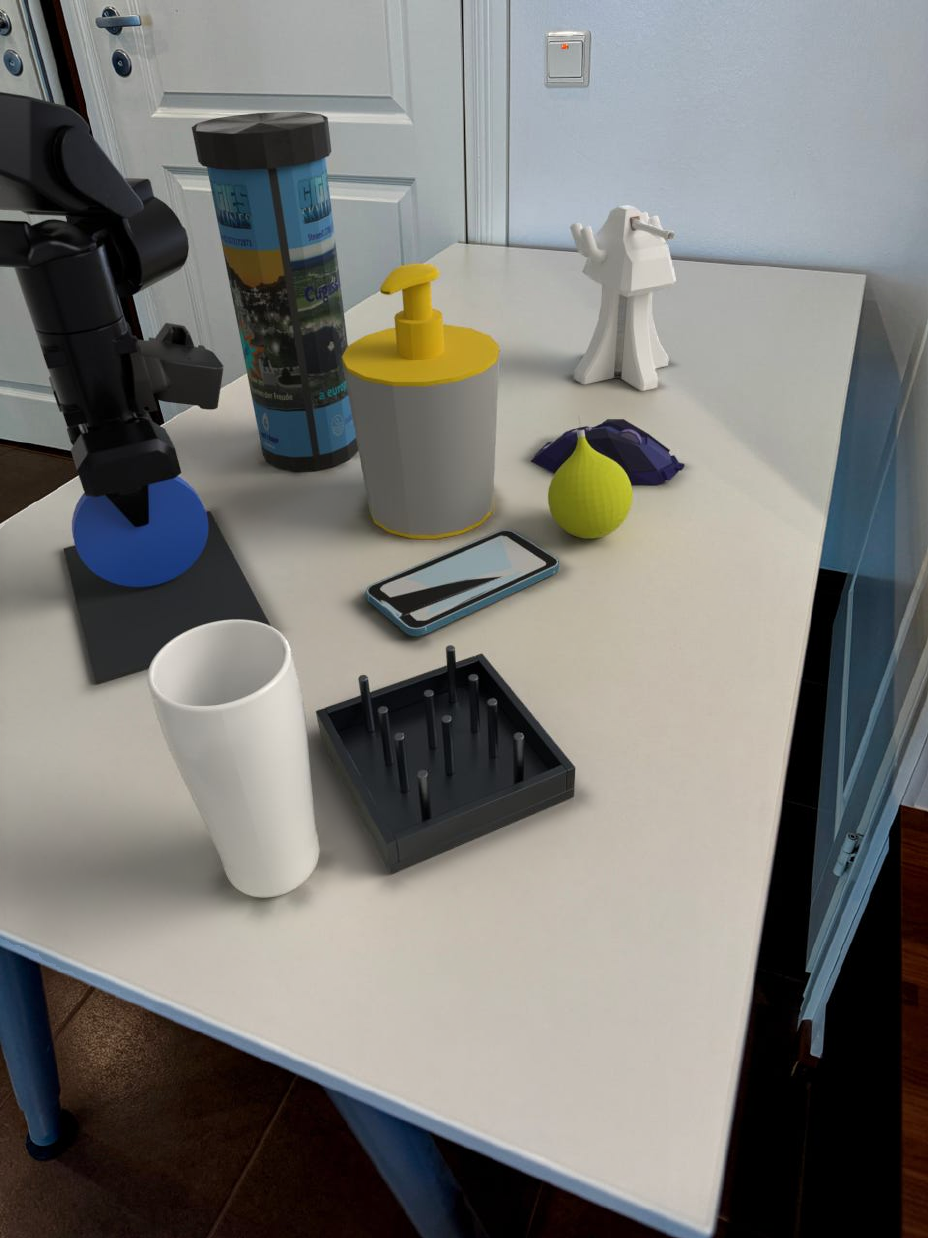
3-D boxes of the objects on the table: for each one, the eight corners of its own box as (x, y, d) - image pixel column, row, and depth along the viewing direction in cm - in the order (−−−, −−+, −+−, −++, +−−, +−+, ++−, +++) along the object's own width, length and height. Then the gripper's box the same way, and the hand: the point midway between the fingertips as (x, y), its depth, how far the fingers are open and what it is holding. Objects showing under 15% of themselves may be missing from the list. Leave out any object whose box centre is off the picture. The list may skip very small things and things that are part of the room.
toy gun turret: (610, 403, 98) (621, 231, 87) (552, 364, 107) (556, 205, 97) (699, 382, 101) (720, 215, 90) (635, 346, 111) (648, 191, 100)
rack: (574, 797, 53) (577, 734, 50) (390, 875, 49) (381, 812, 46) (483, 681, 62) (481, 621, 58) (320, 739, 58) (309, 678, 54)
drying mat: (96, 684, 63) (94, 680, 63) (64, 551, 77) (63, 548, 77) (271, 630, 67) (271, 626, 67) (210, 514, 82) (210, 510, 81)
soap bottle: (331, 513, 81) (296, 276, 68) (425, 459, 89) (410, 238, 76) (438, 560, 74) (421, 307, 61) (530, 497, 82) (532, 261, 69)
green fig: (565, 505, 80) (569, 402, 74) (640, 521, 78) (650, 415, 72) (534, 543, 75) (535, 436, 69) (612, 562, 73) (620, 452, 67)
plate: (221, 565, 73) (191, 457, 67) (97, 603, 70) (54, 493, 64) (217, 558, 74) (187, 451, 68) (95, 595, 71) (52, 486, 64)
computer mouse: (556, 430, 93) (558, 394, 90) (696, 454, 87) (701, 416, 85) (522, 468, 86) (522, 431, 84) (671, 497, 81) (675, 458, 78)
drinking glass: (279, 935, 46) (220, 731, 37) (188, 880, 49) (112, 679, 40) (357, 845, 51) (322, 643, 42) (269, 799, 54) (218, 602, 45)
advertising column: (256, 433, 95) (193, 117, 77) (359, 420, 97) (322, 108, 78) (258, 481, 86) (188, 137, 68) (371, 466, 88) (333, 126, 70)
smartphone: (565, 562, 71) (413, 633, 64) (564, 572, 72) (414, 643, 65) (507, 526, 76) (360, 588, 69) (507, 536, 77) (361, 598, 70)
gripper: (232, 338, 55) (274, 549, 64) (172, 266, 68) (214, 449, 78) (44, 375, 51) (118, 593, 60) (19, 291, 64) (83, 480, 74)
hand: (140, 520), depth 68 cm, fingers closed on plate, 1 cm apart
